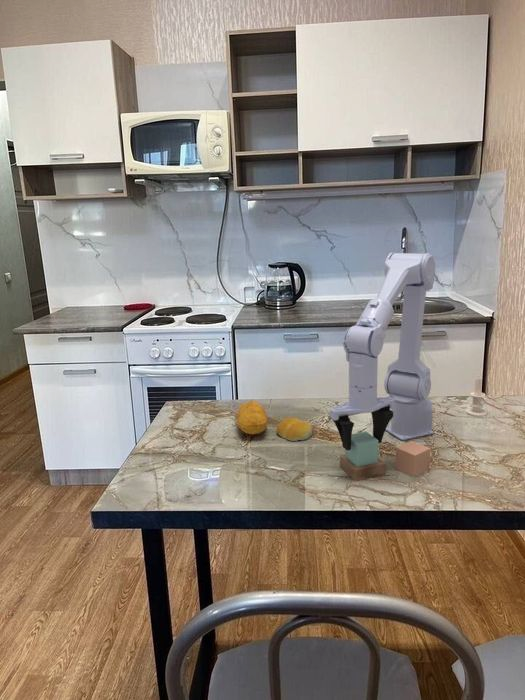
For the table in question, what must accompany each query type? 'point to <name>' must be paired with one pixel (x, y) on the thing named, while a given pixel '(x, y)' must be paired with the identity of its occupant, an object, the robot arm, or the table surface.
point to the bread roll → (294, 429)
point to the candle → (477, 401)
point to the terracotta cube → (412, 458)
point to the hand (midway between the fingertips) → (362, 444)
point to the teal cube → (362, 449)
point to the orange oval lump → (252, 418)
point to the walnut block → (362, 469)
